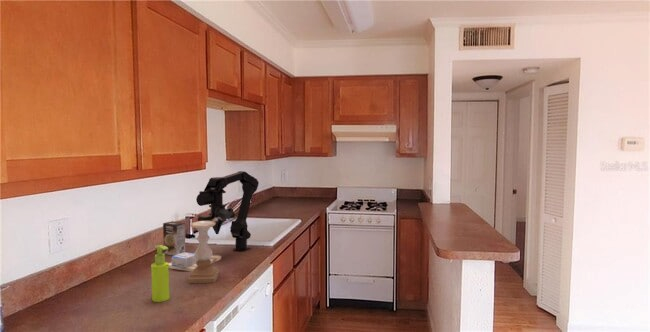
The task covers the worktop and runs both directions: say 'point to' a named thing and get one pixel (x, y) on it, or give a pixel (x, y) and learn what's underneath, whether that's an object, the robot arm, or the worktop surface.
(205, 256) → the candle holder
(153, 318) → the worktop surface
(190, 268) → the pocket board
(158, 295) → the soap dispenser
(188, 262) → the medicine box
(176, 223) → the coffee box
